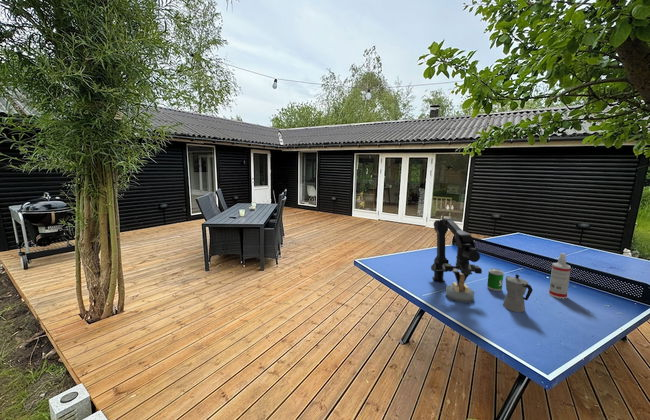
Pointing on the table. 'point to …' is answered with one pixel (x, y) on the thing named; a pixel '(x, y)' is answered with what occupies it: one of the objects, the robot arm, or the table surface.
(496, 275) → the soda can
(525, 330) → the table surface
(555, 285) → the white squeeze bottle
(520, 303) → the coffeepot
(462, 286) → the tall brown wooden block
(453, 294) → the blue-grey bowl
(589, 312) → the table surface
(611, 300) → the table surface
